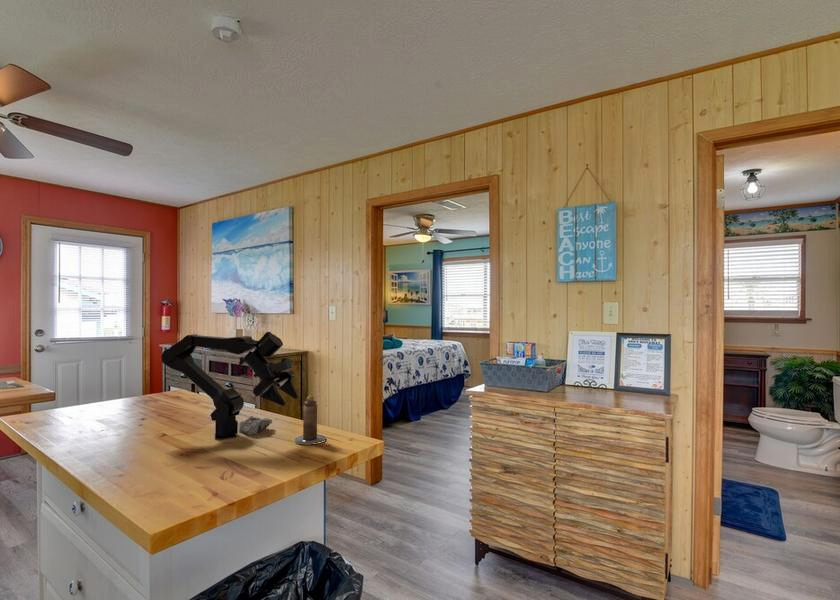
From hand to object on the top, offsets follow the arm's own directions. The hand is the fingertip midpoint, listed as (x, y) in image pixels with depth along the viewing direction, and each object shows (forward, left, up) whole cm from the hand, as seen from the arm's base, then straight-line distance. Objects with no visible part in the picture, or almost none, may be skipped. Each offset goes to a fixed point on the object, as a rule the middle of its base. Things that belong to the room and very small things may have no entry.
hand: (291, 401), depth 147 cm
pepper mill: (+6, -4, -12) cm, 14 cm away
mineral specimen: (-10, +16, -13) cm, 23 cm away
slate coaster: (+6, -4, -13) cm, 14 cm away
